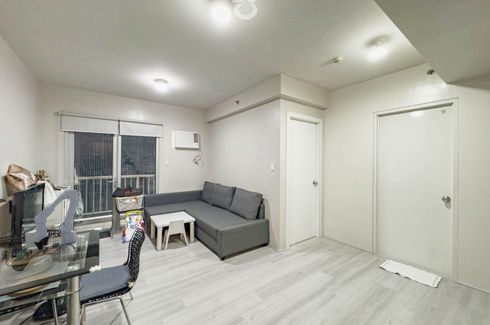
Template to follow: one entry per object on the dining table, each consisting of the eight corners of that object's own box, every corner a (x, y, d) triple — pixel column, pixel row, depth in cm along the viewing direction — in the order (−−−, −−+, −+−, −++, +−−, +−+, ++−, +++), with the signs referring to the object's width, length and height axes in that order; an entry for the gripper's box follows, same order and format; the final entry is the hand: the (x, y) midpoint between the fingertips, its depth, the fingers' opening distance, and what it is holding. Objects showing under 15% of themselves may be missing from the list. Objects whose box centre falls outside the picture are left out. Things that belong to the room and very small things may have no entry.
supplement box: (44, 244, 168) (42, 229, 167) (34, 248, 160) (32, 232, 160) (36, 244, 169) (35, 229, 168) (26, 248, 161) (24, 232, 161)
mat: (63, 244, 165) (62, 244, 164) (59, 247, 159) (59, 247, 159) (26, 251, 155) (26, 251, 155) (21, 255, 150) (21, 254, 150)
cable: (59, 245, 162) (58, 242, 162) (57, 247, 160) (57, 243, 159) (28, 251, 155) (28, 247, 155) (26, 252, 152) (26, 249, 152)
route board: (58, 248, 158) (58, 244, 158) (53, 253, 150) (52, 248, 150) (22, 255, 149) (21, 250, 149) (14, 261, 141) (13, 256, 141)
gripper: (39, 228, 161) (41, 245, 162) (29, 235, 148) (31, 253, 149) (50, 226, 164) (52, 243, 165) (41, 232, 151) (43, 250, 152)
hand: (43, 247), depth 157 cm, fingers open, 7 cm apart
